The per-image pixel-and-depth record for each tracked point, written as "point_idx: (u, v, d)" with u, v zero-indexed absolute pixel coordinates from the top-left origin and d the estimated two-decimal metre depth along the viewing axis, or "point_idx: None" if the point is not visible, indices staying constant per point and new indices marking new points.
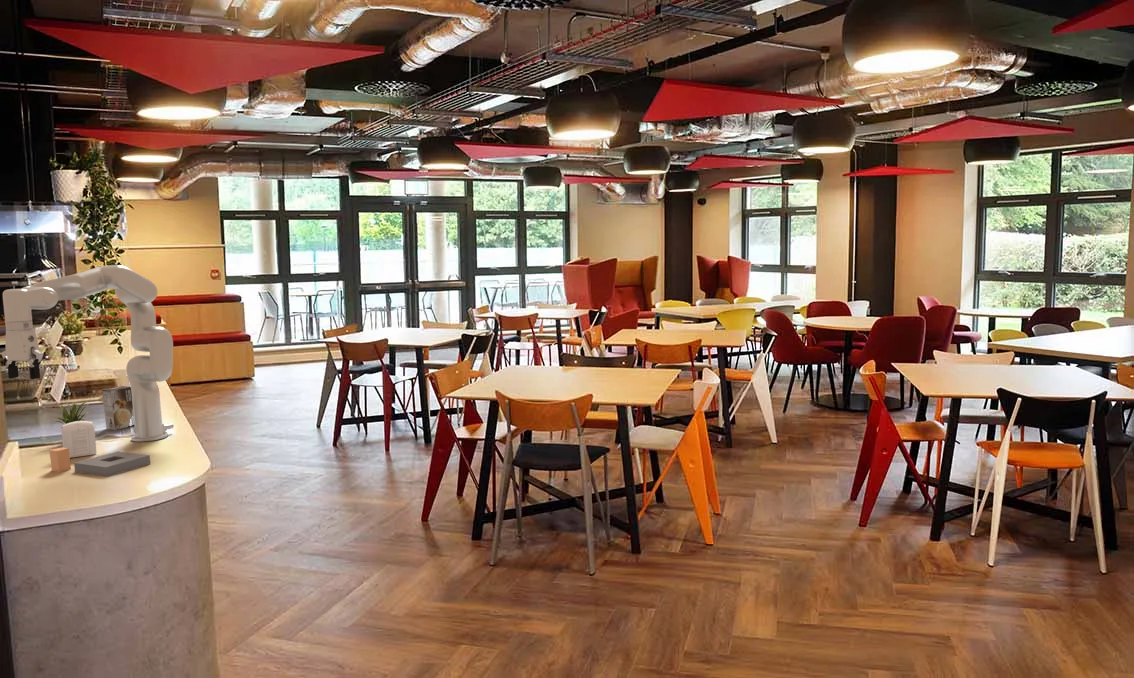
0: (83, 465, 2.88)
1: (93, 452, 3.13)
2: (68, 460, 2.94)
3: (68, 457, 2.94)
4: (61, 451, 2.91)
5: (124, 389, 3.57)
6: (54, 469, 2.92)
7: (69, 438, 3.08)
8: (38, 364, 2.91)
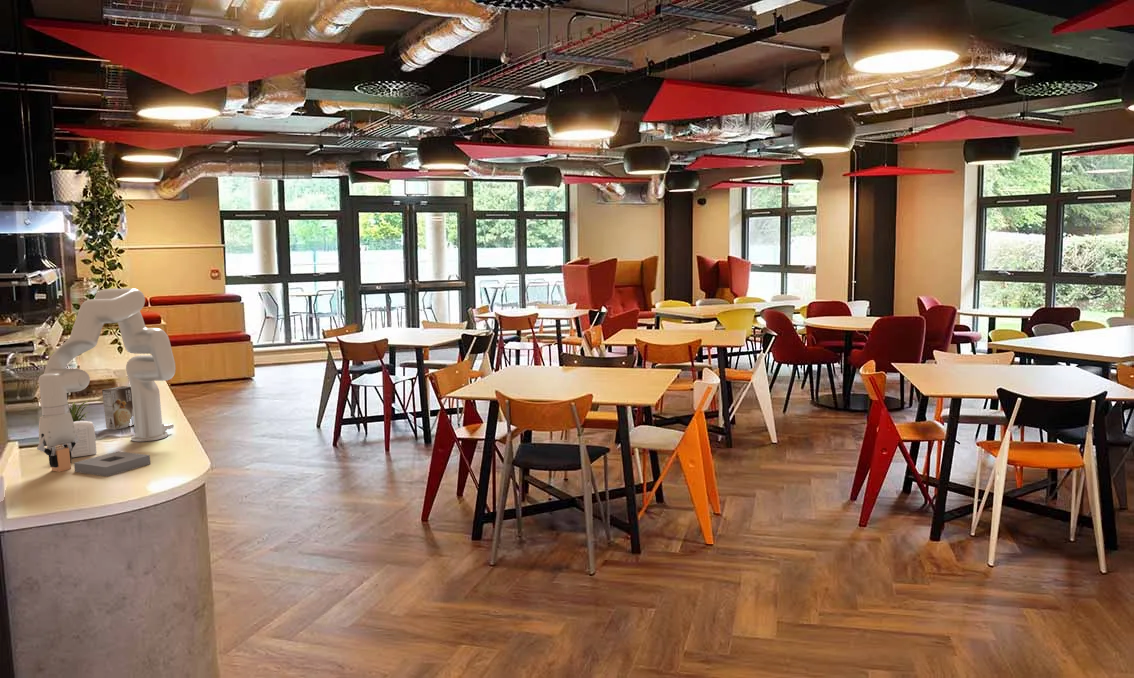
0: (83, 465, 2.88)
1: (93, 452, 3.13)
2: (68, 460, 2.94)
3: (68, 457, 2.94)
4: (61, 451, 2.92)
5: (124, 389, 3.57)
6: (54, 469, 2.92)
7: None
8: None
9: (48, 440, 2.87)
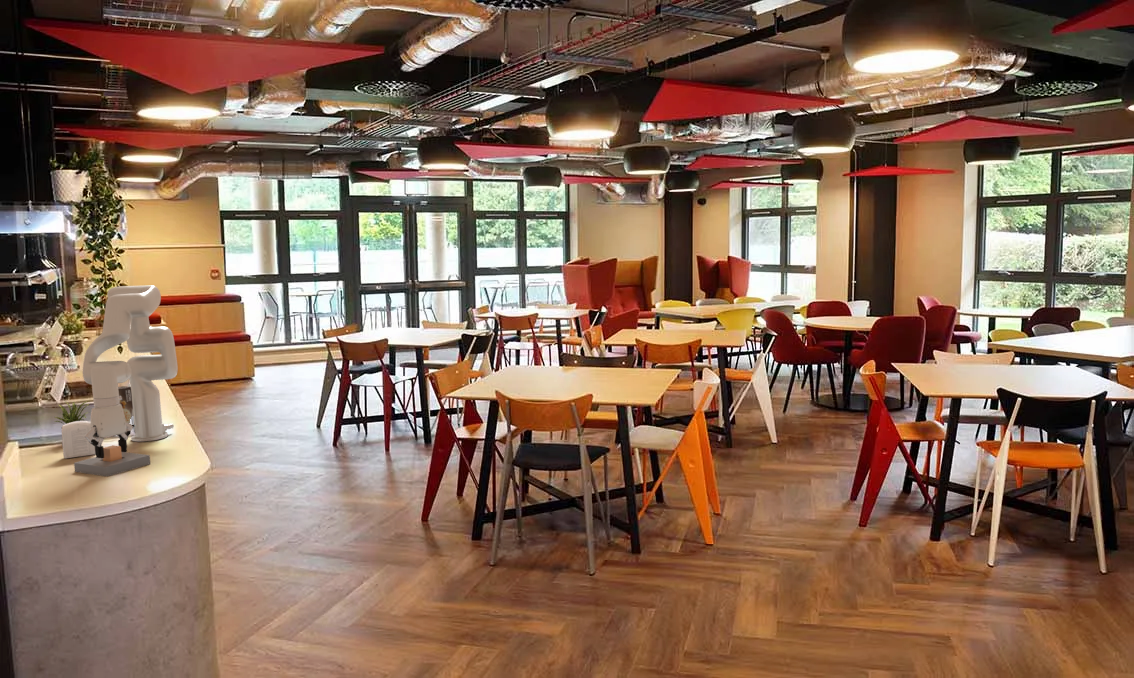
0: (83, 465, 2.88)
1: (93, 452, 3.13)
2: (120, 458, 2.94)
3: (120, 455, 2.94)
4: (113, 449, 2.92)
5: (124, 389, 3.57)
6: None
7: (69, 438, 3.08)
8: None
9: (100, 432, 2.87)
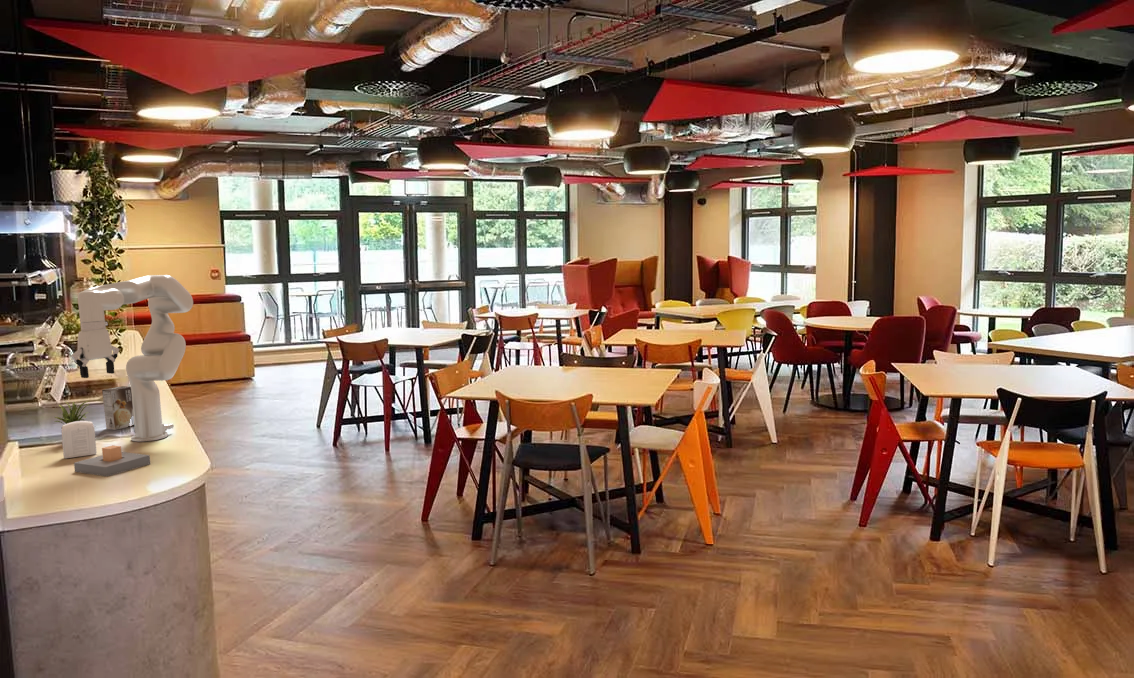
0: (83, 465, 2.88)
1: (93, 452, 3.13)
2: (120, 458, 2.94)
3: (120, 455, 2.94)
4: (113, 449, 2.92)
5: (124, 389, 3.57)
6: None
7: (69, 438, 3.08)
8: None
9: (87, 353, 3.03)
